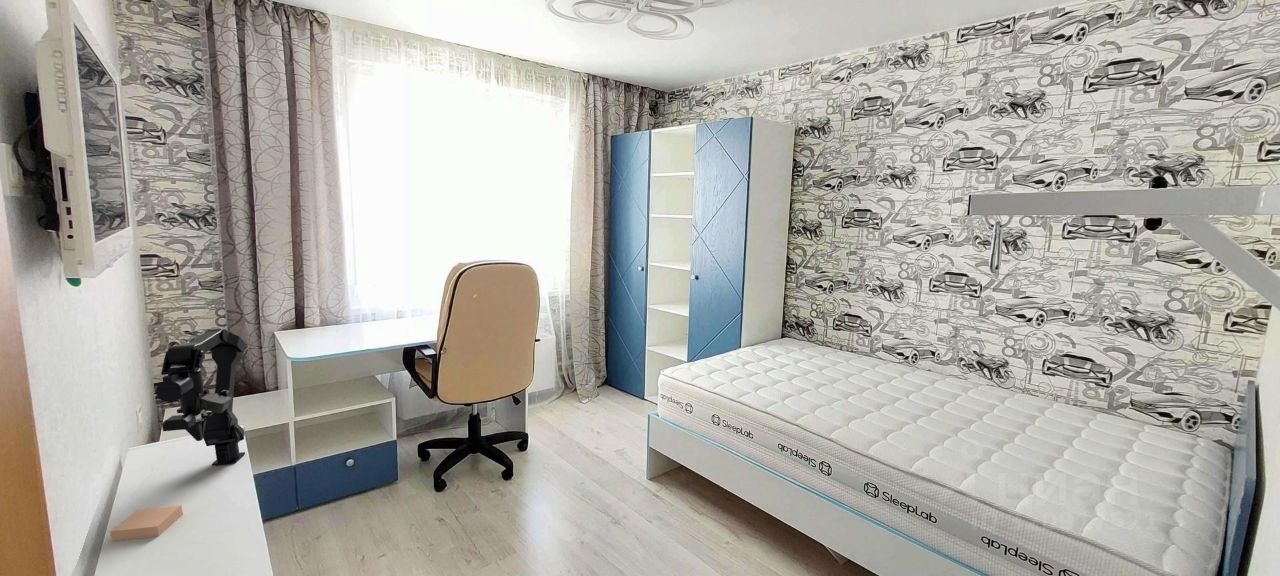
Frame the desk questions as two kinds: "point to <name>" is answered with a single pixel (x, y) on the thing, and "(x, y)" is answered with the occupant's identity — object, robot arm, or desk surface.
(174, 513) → the tile
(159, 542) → the desk surface
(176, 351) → the robot arm
